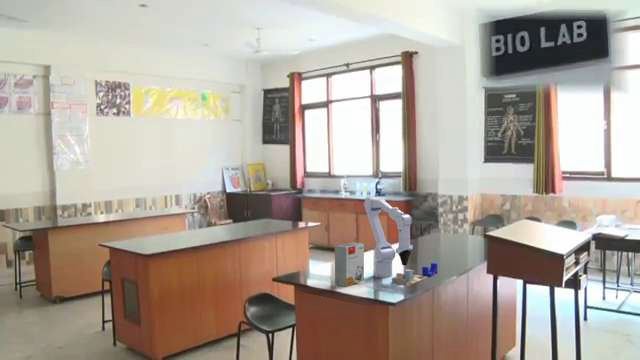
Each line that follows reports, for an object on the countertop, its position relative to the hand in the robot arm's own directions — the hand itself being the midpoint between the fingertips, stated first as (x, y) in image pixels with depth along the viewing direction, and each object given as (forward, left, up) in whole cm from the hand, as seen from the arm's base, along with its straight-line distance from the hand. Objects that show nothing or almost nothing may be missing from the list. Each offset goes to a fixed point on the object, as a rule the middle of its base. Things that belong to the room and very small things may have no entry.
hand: (404, 265), depth 253 cm
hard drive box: (-28, +3, -10) cm, 30 cm away
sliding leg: (+3, +3, -8) cm, 9 cm away
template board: (+3, +3, -9) cm, 10 cm away
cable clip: (+17, +15, -10) cm, 24 cm away
